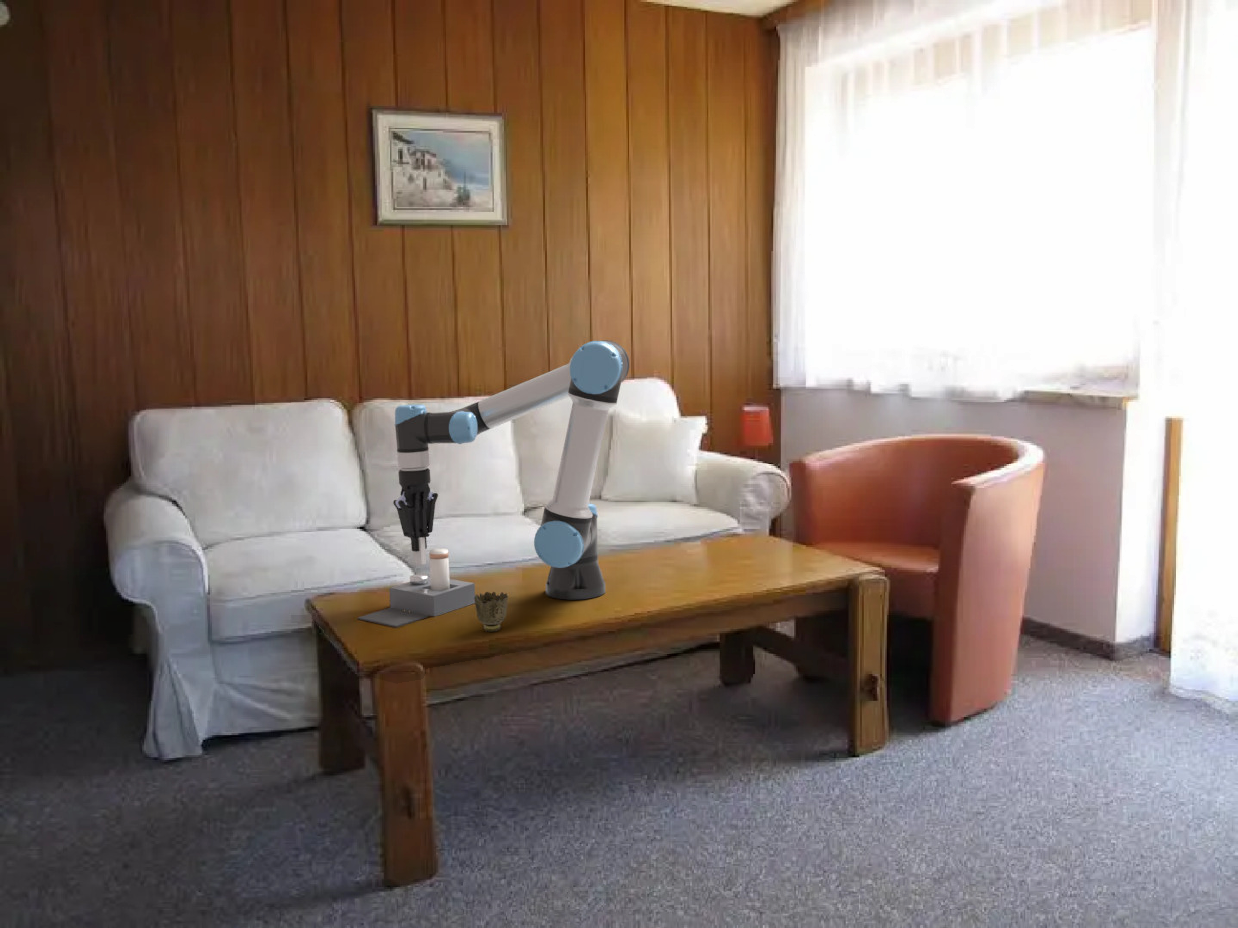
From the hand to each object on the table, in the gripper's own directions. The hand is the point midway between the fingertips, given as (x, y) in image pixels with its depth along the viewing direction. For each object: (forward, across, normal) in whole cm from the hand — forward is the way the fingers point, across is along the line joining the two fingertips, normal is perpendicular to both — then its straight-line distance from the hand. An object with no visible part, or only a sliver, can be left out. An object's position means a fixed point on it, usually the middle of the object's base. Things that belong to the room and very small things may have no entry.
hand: (420, 563), depth 259 cm
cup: (+11, +8, +30) cm, 33 cm away
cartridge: (+10, 0, +7) cm, 12 cm away
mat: (+10, +13, +4) cm, 17 cm away
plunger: (+9, 0, -1) cm, 9 cm away
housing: (+10, 0, +4) cm, 11 cm away
